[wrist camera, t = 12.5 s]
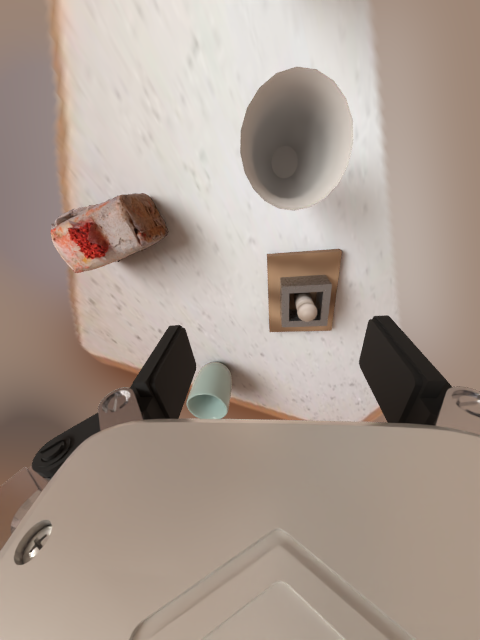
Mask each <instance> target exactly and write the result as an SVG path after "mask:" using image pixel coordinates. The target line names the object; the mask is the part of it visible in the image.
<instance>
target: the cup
mask: <svg viewBox="0 0 480 640" xmlns="http://www.w3.org/2000/svg"><path fill="white" fill-rule="evenodd" d="M231 390H232V377H231V373H230V371H229V369H228V368H227V367H226V366H225V365H223V364H222V363H219V362H212V363H208V364H207V365H205V366H204V367H202V369H201V370H200V371H199V373H198V374H197V376H196V378H195V381H194V383H193V386H192V388H191V391H190V393H189V396H188V399H187V407H188V409H189V411H190V412H191V413H192V414H193V415H194V416H196V417H198V418H200V419H221V418H223V417H224V416H225V415H226V414H227V412H228V408H229V403H230V397H231Z"/></svg>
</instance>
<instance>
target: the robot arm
mask: <svg viewBox="0 0 480 640" xmlns="http://www.w3.org/2000/svg"><path fill="white" fill-rule="evenodd" d="M359 365H360V368H361V370H362V372H363V374H364V376H365V378H366V380H367V382H368V384H369V386H370V388H371V390H372V392H373V394H374V396H375V398H376V400H377V402H378V404H379V406H380V408H381V410H382V412H383V414H384V416H385V418H386V420H387V422H388V423H383V422H351V421H308V420H254V419H253V420H252V419H178V418H179V415H180V412H181V410H182V407H183V404H184V401H185V399H186V396H187V393H188V390H189V388H190V385H191V382H192V379H193V376H194V374H195V371H196V362H195V359H194V356H193V353H192V349H191V346H190V343H189V340H188V336H187V333H186V330H185V328H182V326H180V325H175V326H169V327H168V329H167V330H166V332H165V334H164V335H163V337H162V338H161V340H160V341H159V343H158V344H157V346H156V347H155V349H154V351H153V352H152V354H151V355H150V357H149V358H148V360H147V361H146V363H145V365H144V366H143V368H142V369H141V371H140V372H139V374H138V375H137V377H136V379H135V380H134V382H133V384H132V386H131V387H130V388H125V387H124V388H119V389H117V390H114V391H112V392H111V393H109V394H108V395H107V396H105V397H104V398H103V400H102V401H101V402H100V404H99V406H98V413H97V414H95V415H93V416H91V417H89V418H88V419H86V420H84V421H83V422H81V423H79V424H77V425H76V426H74V427H72V428H70V429H69V430H67V431H65V432H64V433H62V434H60V435H58V436H57V437H55V438H53V439H52V440H50V441H49V442H47V443H46V444H45V445H44V446H43V447H42V448H41V449H40V450H39V451H38V453H37V454H36V456H35V457H34V459H33V462H32V466H30V467H29V468H28V469H27V468H25V467H24V468H23V469H21V470H20V471H19V472H18V473H16V474H15V475H14V476H12V477H11V478H10V479H9V480H7V481H6V482H5V483H4V484H3V485H1V486H0V640H480V391H478V390H475V389H472V388H468V387H460V386H457V387H452V386H451V385H450V384H449V383H448V382H447V380H446V379H445V378H444V377H443V376H442V375H441V374H440V373H439V371H438V370H437V369H436V368H435V367H434V366H433V365H432V364H431V363H430V361H428V359H427V358H426V357H425V356H424V355H423V354H422V352H421V351H420V350H419V349H418V348H417V347H416V346H415V345H414V344H413V342H412V341H411V340H410V339H409V338H408V337H407V336H406V335H405V334H404V332H403V331H402V330H401V329H400V328H399V327H398V326H397V324H396V323H395V322H394V321H393V320H392V319H391V318H390V317H389V316H374V317H373V319H370V320H369V322H368V326H367V330H366V334H365V338H364V343H363V347H362V351H361V355H360V360H359Z"/></svg>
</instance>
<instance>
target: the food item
mask: <svg viewBox="0 0 480 640" xmlns="http://www.w3.org/2000/svg"><path fill="white" fill-rule="evenodd" d="M167 233H168V230H167V227H166V225H165V222H164V220H163V219H162V217H161V216H160V214H159V212H158V210H157V208H156V206H155V204H154V203H153V201H152V200H151V198H150V197H149V196H148V195H146V194H144V193H141V194H128V195H120V196H117V197H114V198H113V199H111V200H110V199H109V200H108V201H106V202H104V203H101V204H96V205H89V206H88V207H81V208H78V209H76V210H74V209H72V210H70V211H69V212H67V213H64V214H63V215H61V216H59V217H58V218H57V220H56V221H55V224H52V229H51V237H52V241H53V244H54V246H55V248H56V249H57V251H58V252H59V254H60V255H61V257H62V259H63V260H65V262H66V263H67V264H68V265H69V266H70V267H71V268H72V270H73V271H74V272H75V273H79V272H84V271H88V270H93V269H96V268H99V267H102V266H105V265H107V264H110V263H112V262H116V261H118V262H119V261H120V259H123V258H125V257H127V256H129V255H131V254H133V253H135V252H138V251H140V250H143V249H146V248H147V247H149V246H151V245H153V244H155V243H157V242H158V241H160V240H161V239H162V238H163V237H165V236H166V235H167Z"/></svg>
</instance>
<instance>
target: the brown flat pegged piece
mask: <svg viewBox="0 0 480 640" xmlns="http://www.w3.org/2000/svg"><path fill="white" fill-rule="evenodd" d="M341 256H342V251H341V250H340V249H331V250H317V251H303V252H289V253H275V254H267V268H268V298H269V329H270V332H287V331H328V330H331V329H332V321H333V314H334V307H335V299H336V292H337V285H338V278H339V270H340V263H341ZM311 275H326V276H327V278H328V279H329V280H330V282H331V283H332V289H331V297H330V306H329V314H328V323H327V326H309V327H282V324H281V316H280V277H295V276H311ZM316 295H317V292H307V293H289V309H297V315H298V317H299V318H300V319H301V320H302V321H305V322H309V321H312V320H313V319H315V317H316V315H317V308H316Z"/></svg>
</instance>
